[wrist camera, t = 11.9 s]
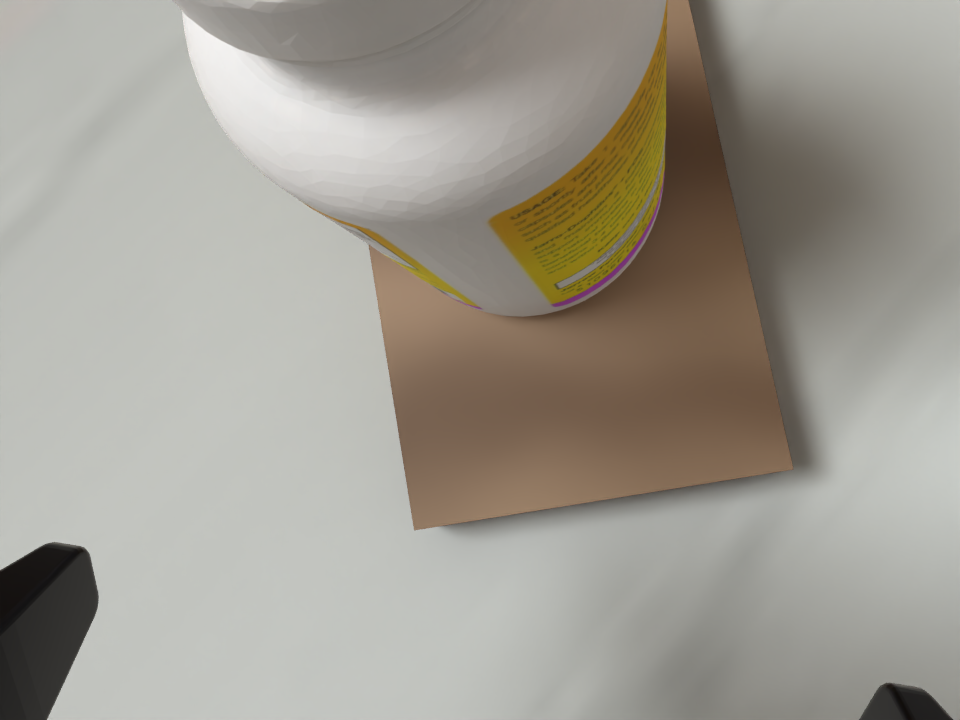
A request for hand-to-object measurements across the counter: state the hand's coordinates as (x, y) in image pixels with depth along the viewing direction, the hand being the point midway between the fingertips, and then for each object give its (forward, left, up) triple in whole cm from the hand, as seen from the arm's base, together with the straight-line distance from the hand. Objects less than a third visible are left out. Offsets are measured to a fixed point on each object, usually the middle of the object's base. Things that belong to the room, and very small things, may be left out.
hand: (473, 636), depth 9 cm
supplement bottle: (+8, -1, -10) cm, 13 cm away
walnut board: (+9, -1, -11) cm, 14 cm away
